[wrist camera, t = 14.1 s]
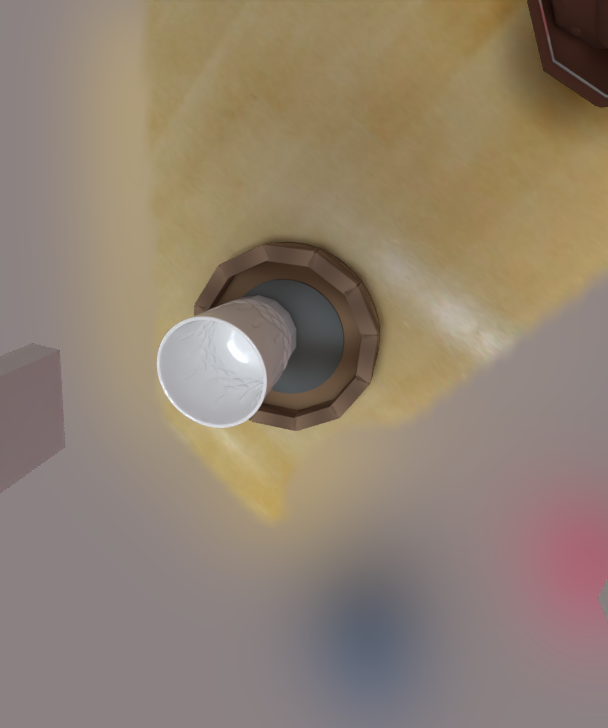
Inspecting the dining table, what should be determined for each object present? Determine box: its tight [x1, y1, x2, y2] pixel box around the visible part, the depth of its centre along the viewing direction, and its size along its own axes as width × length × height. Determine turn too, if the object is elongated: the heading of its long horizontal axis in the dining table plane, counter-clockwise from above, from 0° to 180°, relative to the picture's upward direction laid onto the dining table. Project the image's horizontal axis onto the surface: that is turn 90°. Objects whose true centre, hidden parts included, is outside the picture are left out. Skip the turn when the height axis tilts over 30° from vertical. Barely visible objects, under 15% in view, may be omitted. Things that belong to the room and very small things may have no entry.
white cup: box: [157, 295, 297, 428], centre depth 37 cm, size 8×8×10 cm
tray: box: [194, 242, 380, 431], centre depth 41 cm, size 16×16×3 cm
